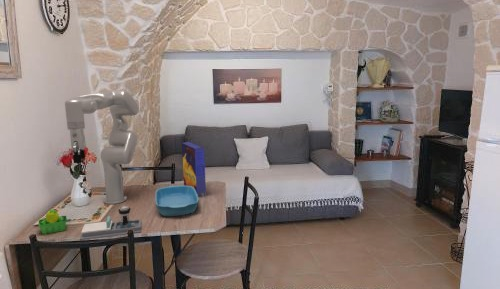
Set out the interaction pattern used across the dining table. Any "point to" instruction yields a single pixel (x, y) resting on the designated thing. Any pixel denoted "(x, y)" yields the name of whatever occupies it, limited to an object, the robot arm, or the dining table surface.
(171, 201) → the casserole dish
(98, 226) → the shutter lid
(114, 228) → the dock
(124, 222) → the push button
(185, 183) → the cereal box
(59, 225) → the fruit basket
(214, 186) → the dining table surface
